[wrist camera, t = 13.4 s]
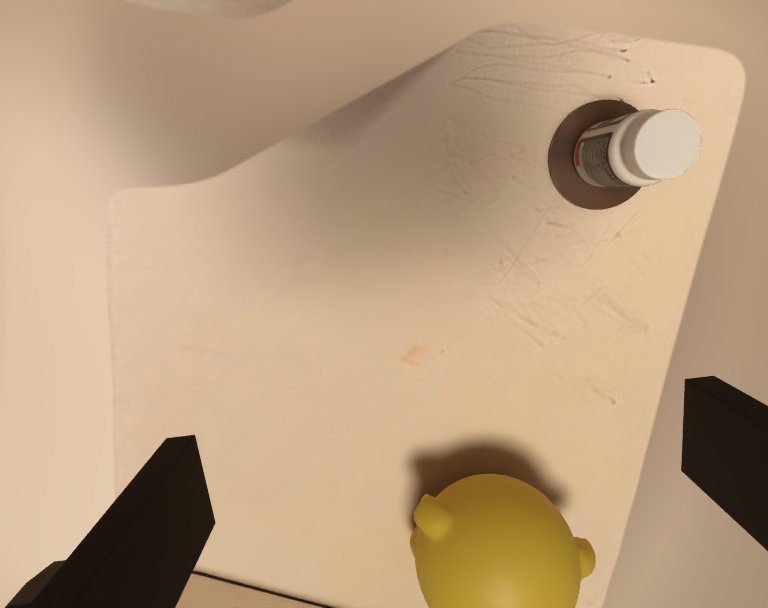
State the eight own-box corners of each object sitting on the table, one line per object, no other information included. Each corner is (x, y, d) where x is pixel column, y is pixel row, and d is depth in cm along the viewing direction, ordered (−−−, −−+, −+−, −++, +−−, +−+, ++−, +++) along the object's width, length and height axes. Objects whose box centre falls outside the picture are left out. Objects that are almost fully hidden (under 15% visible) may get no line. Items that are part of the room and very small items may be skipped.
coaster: (547, 106, 36) (549, 105, 35) (653, 95, 36) (657, 93, 35) (549, 214, 38) (551, 214, 37) (650, 203, 38) (653, 204, 37)
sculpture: (373, 578, 44) (395, 669, 30) (411, 440, 46) (447, 469, 32) (527, 618, 45) (611, 723, 31) (557, 482, 47) (648, 527, 34)
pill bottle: (607, 198, 37) (672, 202, 29) (559, 164, 36) (612, 158, 28) (647, 144, 36) (725, 133, 28) (598, 108, 36) (665, 86, 27)
